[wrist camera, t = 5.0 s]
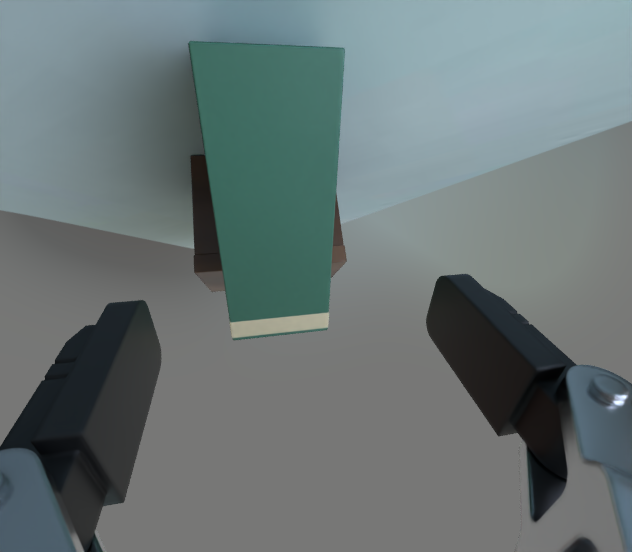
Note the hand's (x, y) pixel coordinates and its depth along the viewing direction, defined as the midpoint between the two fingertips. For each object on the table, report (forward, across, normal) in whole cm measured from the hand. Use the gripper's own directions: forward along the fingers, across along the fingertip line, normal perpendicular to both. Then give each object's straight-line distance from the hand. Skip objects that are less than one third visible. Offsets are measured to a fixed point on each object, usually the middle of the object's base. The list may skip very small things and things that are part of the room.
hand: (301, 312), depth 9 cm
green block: (+9, 0, 0) cm, 9 cm away
